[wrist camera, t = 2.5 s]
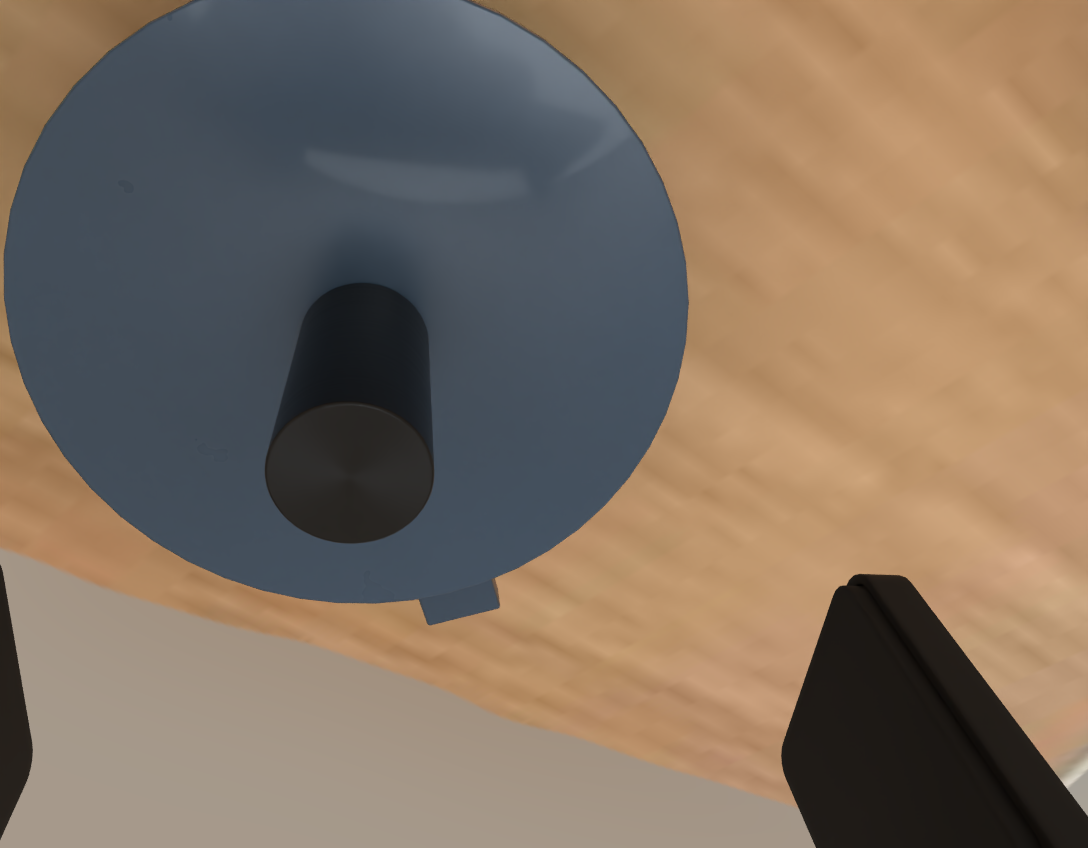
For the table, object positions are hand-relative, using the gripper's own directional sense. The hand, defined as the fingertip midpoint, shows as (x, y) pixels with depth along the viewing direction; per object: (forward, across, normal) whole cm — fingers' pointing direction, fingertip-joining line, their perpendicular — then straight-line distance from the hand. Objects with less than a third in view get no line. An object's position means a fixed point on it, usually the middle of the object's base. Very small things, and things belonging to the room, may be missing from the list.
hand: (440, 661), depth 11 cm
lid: (+14, +1, +2) cm, 15 cm away
